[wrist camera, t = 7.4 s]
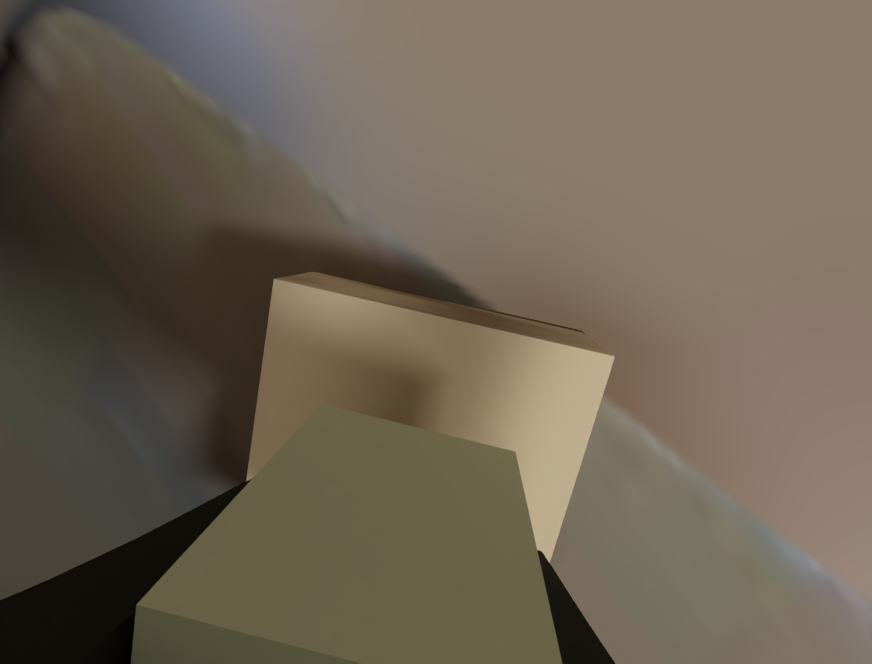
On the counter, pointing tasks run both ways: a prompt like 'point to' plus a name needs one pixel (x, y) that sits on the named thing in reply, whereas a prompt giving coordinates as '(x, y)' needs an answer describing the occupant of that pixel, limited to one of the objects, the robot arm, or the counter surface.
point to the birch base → (433, 378)
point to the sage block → (360, 558)
